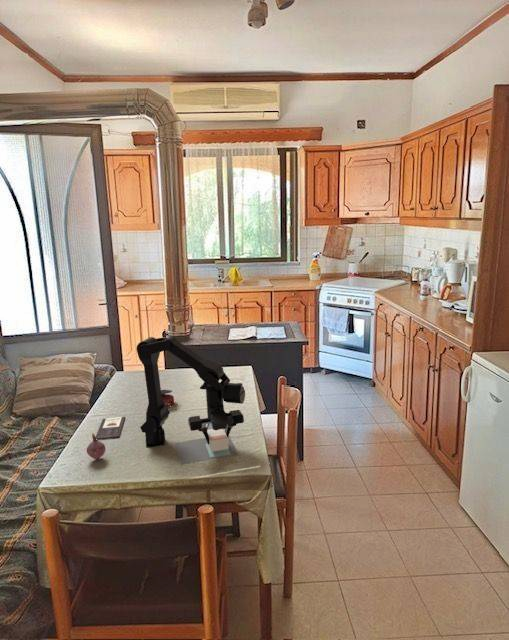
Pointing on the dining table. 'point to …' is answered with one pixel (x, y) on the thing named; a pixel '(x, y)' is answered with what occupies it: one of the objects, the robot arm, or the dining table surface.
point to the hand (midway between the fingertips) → (217, 442)
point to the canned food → (167, 397)
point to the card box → (217, 440)
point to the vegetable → (95, 448)
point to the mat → (201, 451)
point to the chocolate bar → (110, 428)
